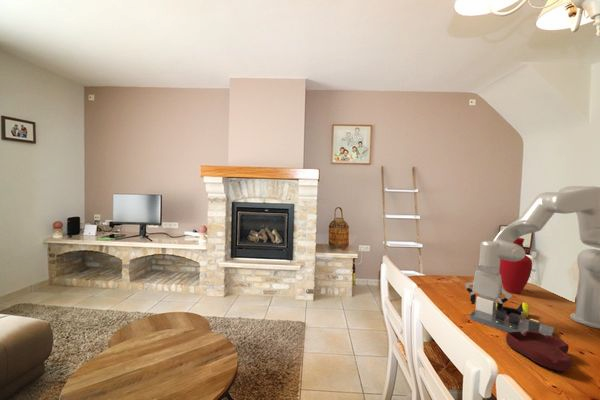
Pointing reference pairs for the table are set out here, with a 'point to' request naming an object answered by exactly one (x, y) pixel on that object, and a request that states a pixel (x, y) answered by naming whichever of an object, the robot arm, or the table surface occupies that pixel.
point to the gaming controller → (518, 310)
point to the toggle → (534, 325)
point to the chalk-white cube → (486, 304)
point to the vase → (515, 272)
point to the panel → (508, 322)
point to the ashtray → (541, 349)
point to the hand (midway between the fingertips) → (485, 307)
